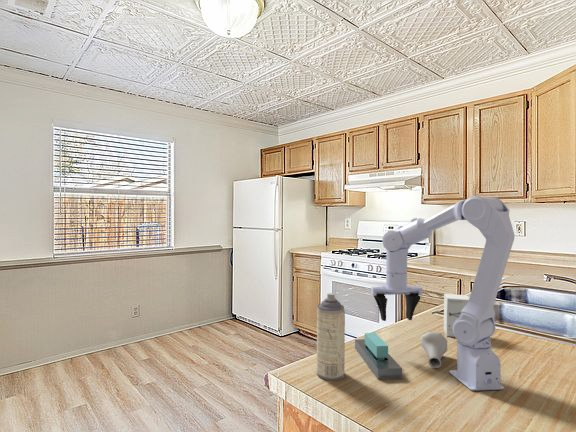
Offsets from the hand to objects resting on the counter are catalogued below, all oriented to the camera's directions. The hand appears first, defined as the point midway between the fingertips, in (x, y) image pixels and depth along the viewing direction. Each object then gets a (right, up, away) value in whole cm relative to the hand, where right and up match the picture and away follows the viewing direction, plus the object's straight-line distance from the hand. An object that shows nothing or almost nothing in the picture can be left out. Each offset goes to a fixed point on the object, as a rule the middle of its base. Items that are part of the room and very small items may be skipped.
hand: (396, 319), depth 103 cm
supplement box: (+25, -10, +15) cm, 31 cm away
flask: (+10, -6, -1) cm, 12 cm away
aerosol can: (-21, -10, -14) cm, 27 cm away
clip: (-7, -10, -6) cm, 14 cm away
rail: (-7, -10, -7) cm, 14 cm away
